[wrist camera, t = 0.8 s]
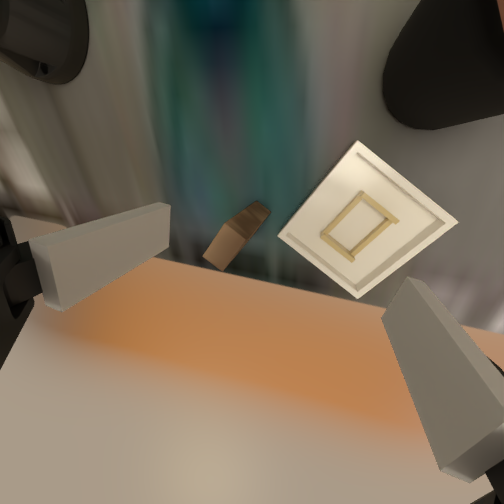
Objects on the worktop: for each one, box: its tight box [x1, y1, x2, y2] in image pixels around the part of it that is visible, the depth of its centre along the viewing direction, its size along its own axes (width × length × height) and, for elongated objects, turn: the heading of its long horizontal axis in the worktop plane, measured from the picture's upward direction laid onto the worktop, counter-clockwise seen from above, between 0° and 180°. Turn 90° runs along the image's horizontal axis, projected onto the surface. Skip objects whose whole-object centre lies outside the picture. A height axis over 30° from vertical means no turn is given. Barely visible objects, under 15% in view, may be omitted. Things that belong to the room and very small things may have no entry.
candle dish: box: [278, 140, 458, 299], centre depth 28 cm, size 14×14×3 cm
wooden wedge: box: [203, 201, 271, 272], centre depth 27 cm, size 3×5×12 cm, turn 144°
